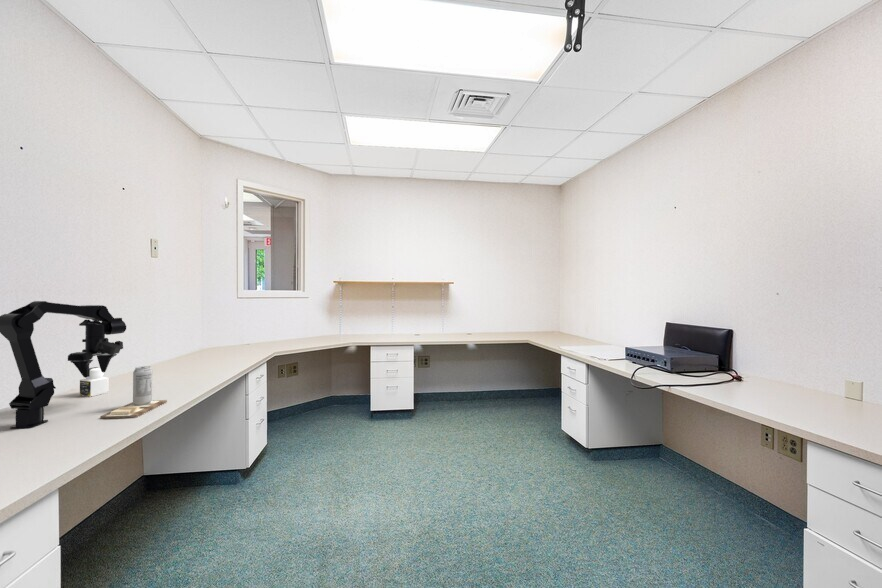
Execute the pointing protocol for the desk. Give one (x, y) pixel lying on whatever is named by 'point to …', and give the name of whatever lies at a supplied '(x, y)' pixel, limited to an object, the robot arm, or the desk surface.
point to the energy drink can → (142, 385)
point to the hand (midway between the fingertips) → (94, 374)
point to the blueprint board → (133, 410)
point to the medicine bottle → (94, 383)
